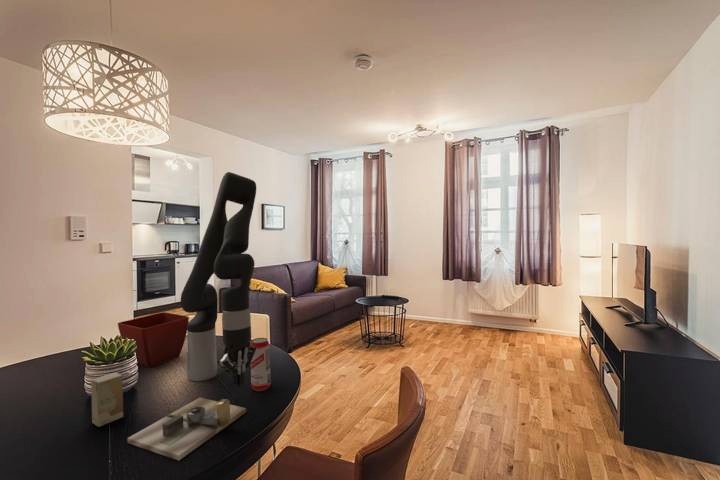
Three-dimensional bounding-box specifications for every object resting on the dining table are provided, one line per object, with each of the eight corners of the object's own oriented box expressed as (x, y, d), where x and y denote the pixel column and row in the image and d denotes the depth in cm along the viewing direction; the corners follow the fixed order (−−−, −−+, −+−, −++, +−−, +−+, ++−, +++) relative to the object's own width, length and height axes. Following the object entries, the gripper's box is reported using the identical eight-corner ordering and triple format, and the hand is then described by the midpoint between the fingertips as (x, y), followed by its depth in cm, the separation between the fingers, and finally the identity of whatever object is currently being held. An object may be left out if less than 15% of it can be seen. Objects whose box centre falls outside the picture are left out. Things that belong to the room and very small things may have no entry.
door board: (127, 442, 85) (126, 426, 85) (200, 401, 105) (199, 387, 105) (178, 460, 78) (178, 442, 78) (246, 412, 98) (245, 397, 98)
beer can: (265, 392, 110) (263, 343, 109) (247, 391, 111) (246, 342, 111) (274, 384, 116) (272, 337, 116) (257, 382, 117) (255, 336, 117)
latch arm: (183, 424, 89) (182, 403, 89) (194, 415, 94) (193, 395, 93) (224, 428, 87) (223, 406, 87) (233, 418, 92) (233, 398, 91)
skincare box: (98, 427, 92) (96, 383, 92) (91, 423, 95) (89, 379, 94) (125, 416, 98) (123, 374, 97) (117, 412, 100) (115, 371, 100)
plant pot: (145, 373, 128) (143, 328, 127) (118, 364, 137) (116, 322, 137) (191, 355, 145) (190, 316, 144) (165, 349, 154) (163, 311, 153)
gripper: (229, 333, 88) (231, 399, 89) (263, 320, 100) (265, 378, 101) (207, 330, 91) (210, 394, 92) (243, 317, 103) (245, 374, 104)
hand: (239, 385), depth 96 cm, fingers closed
